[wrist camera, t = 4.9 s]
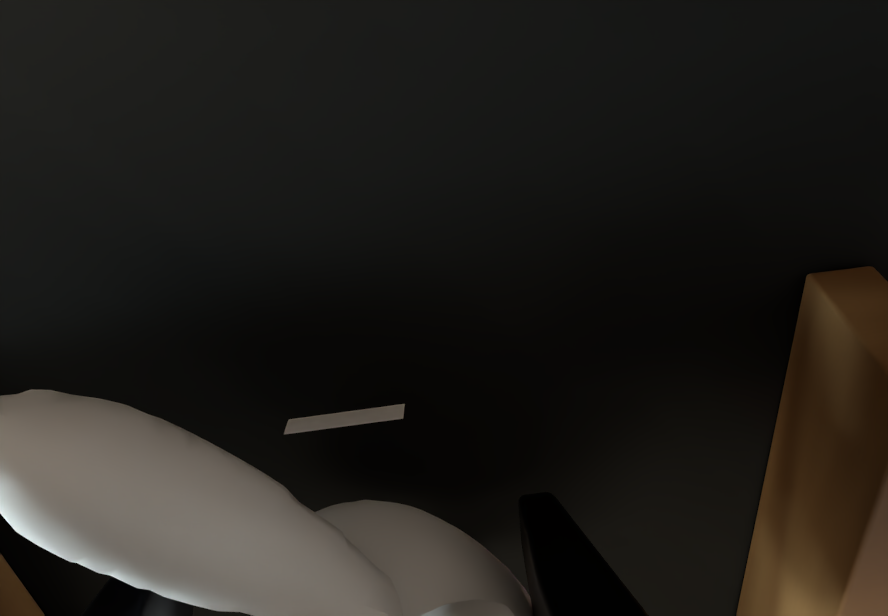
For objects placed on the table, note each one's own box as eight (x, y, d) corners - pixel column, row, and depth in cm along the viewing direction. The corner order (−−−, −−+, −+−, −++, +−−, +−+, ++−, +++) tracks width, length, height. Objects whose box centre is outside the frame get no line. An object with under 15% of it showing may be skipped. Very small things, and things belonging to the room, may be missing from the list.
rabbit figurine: (261, 628, 13) (-222, 581, 6) (366, 421, 14) (55, 181, 7) (590, 833, 11) (400, 1135, 4) (687, 562, 12) (683, 403, 5)
